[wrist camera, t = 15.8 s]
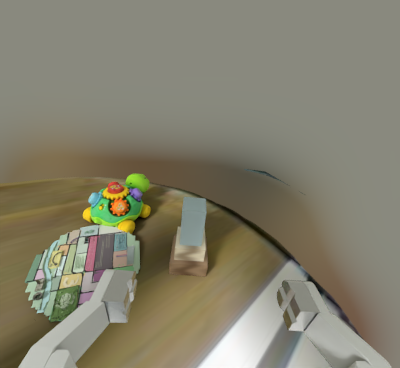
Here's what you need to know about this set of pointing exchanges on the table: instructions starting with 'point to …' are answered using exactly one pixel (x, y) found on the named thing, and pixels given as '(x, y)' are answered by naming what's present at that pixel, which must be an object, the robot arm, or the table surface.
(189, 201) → the tall brick
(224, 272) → the table surface
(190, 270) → the tower base
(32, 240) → the table surface
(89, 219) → the turtle toy
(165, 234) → the table surface
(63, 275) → the city model
